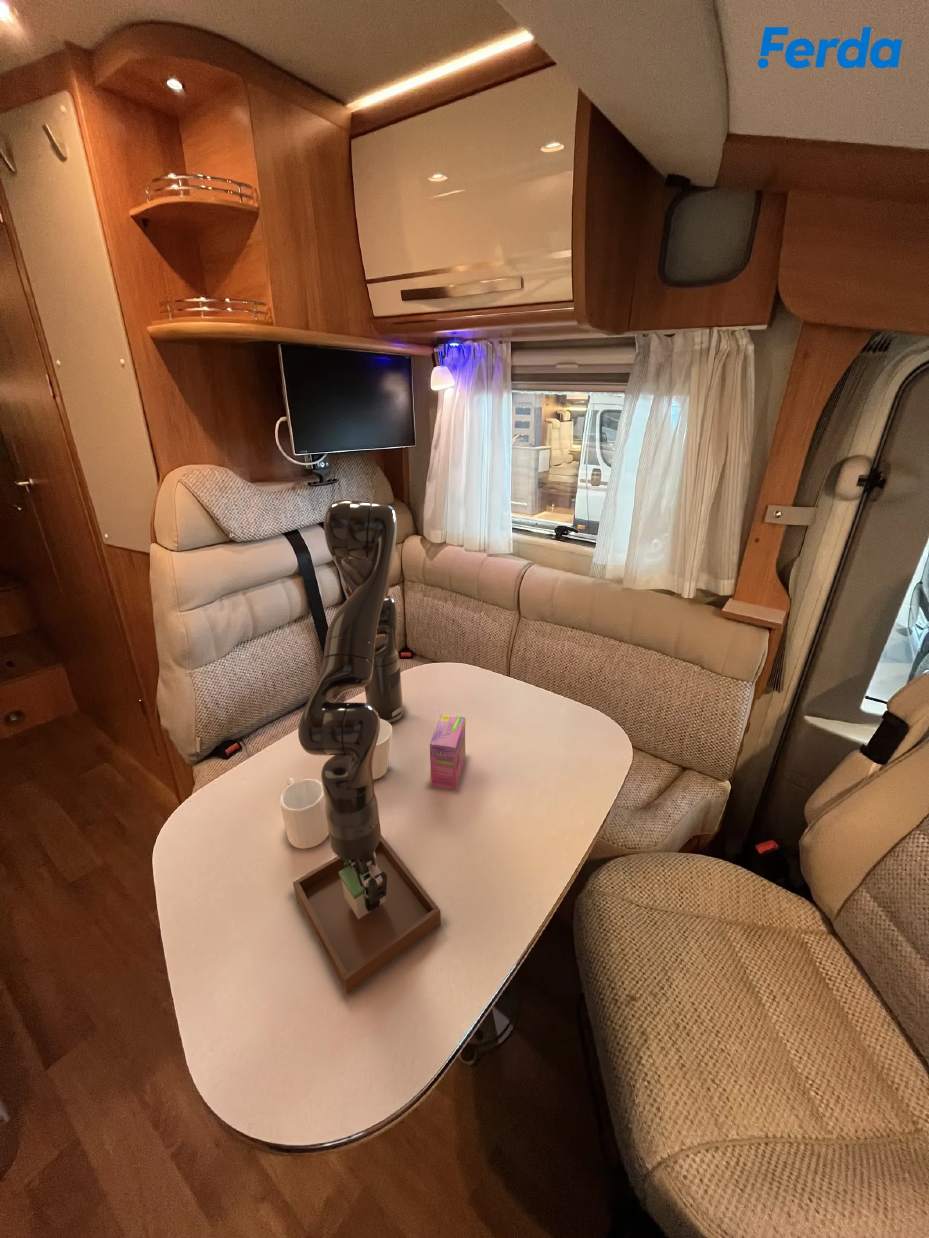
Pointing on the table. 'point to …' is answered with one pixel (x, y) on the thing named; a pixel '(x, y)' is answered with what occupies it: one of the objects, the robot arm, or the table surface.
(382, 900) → the container
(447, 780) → the box
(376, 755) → the cup
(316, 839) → the mug
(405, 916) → the tray
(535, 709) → the table surface
